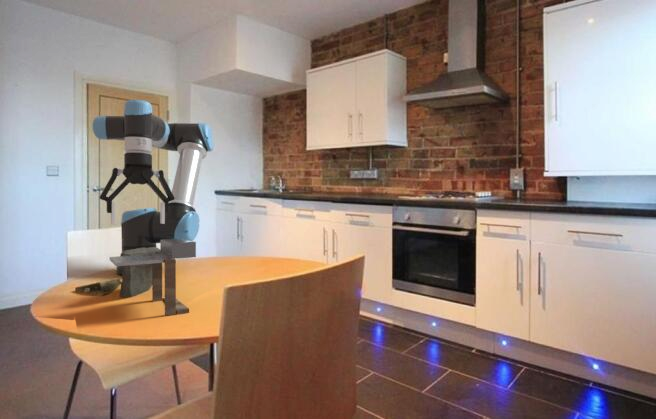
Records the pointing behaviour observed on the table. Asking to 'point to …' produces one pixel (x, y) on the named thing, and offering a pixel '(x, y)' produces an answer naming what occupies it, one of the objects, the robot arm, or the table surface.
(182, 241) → the trapdoor
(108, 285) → the rock
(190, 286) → the table surface
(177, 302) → the frame
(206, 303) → the table surface
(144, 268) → the marble piece
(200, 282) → the table surface
